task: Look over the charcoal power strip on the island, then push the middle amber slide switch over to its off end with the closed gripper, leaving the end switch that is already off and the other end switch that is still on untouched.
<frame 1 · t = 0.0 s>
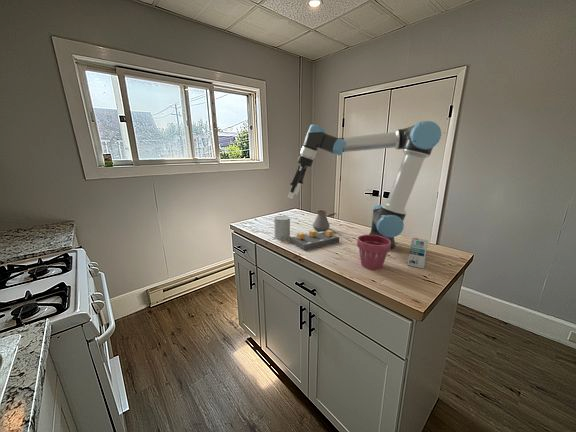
hand: (292, 196, 125), 28 cm above the table, tool tilted 20°, fingers open, 13 cm apart
switch b: (312, 233, 138), point 5 cm above the table, slide at 0.0 cm
switch a: (329, 233, 138), point 5 cm above the table, slide at 4.5 cm
grey cylinder: (282, 237, 145), on the table
light bulb box: (416, 263, 112), on the table
switch c: (300, 235, 133), point 5 cm above the table, slide at 0.0 cm
coffee pot: (325, 232, 156), on the table
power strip: (314, 242, 137), on the table
plant pot: (371, 265, 109), on the table
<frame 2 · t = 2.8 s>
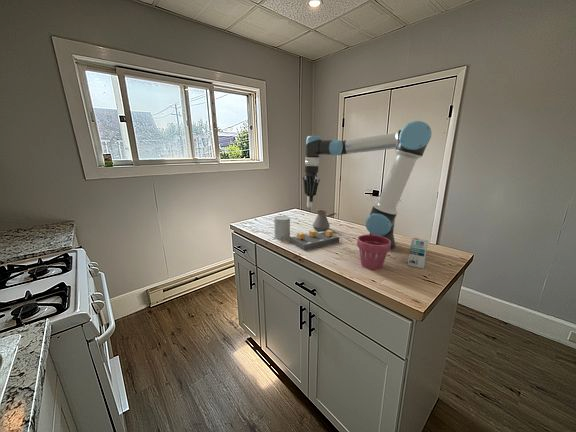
hand: (309, 206, 137), 20 cm above the table, tool pointing down, fingers closed
nothing on the table moved.
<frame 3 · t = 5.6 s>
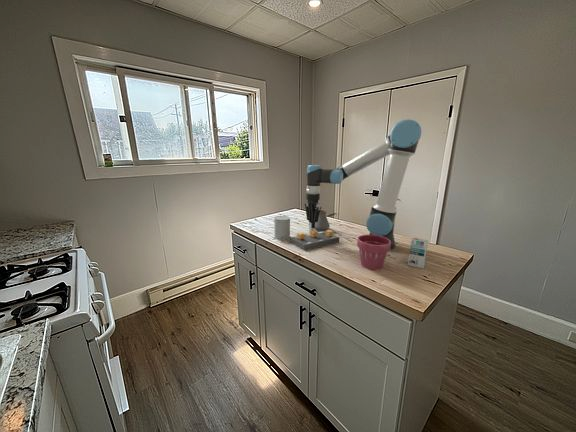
hand: (311, 232, 139), 5 cm above the table, tool pointing down, fingers closed
switch b: (313, 233, 137), point 5 cm above the table, slide at 0.9 cm, touching gripper
everything else where it was.
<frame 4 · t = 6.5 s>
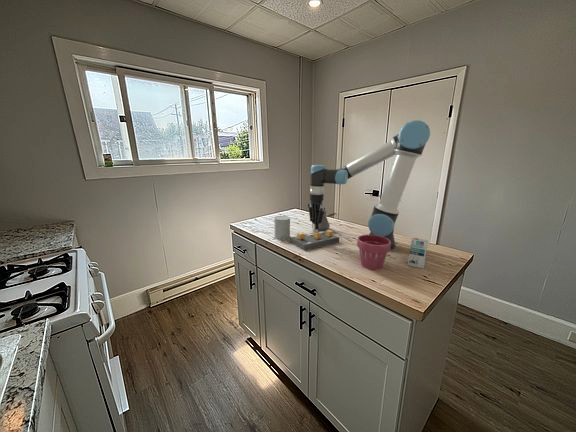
hand: (315, 234, 136), 5 cm above the table, tool pointing down, fingers closed
switch b: (317, 235, 134), point 5 cm above the table, slide at 4.2 cm, touching gripper
everything else where it was.
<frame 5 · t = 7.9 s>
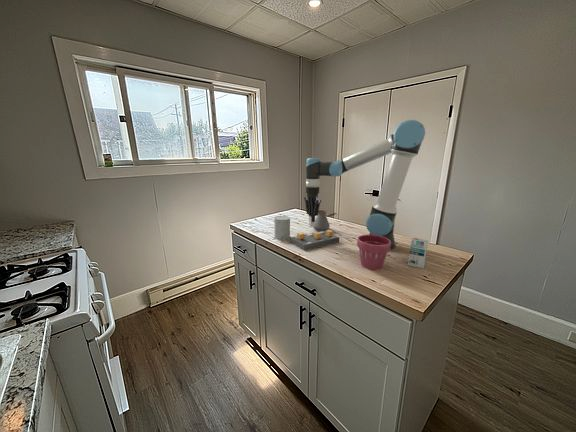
hand: (311, 226, 138), 8 cm above the table, tool pointing down, fingers closed
switch b: (317, 235, 134), point 5 cm above the table, slide at 4.2 cm
everything else where it was.
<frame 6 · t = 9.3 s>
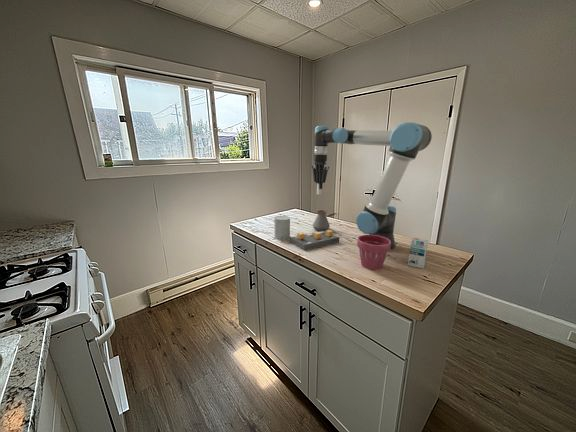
hand: (319, 194, 144), 26 cm above the table, tool pointing down, fingers closed
nothing on the table moved.
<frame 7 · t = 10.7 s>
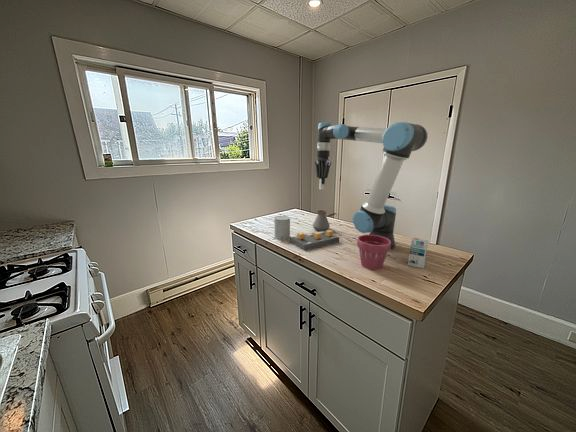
hand: (321, 189, 148), 28 cm above the table, tool pointing down, fingers closed
nothing on the table moved.
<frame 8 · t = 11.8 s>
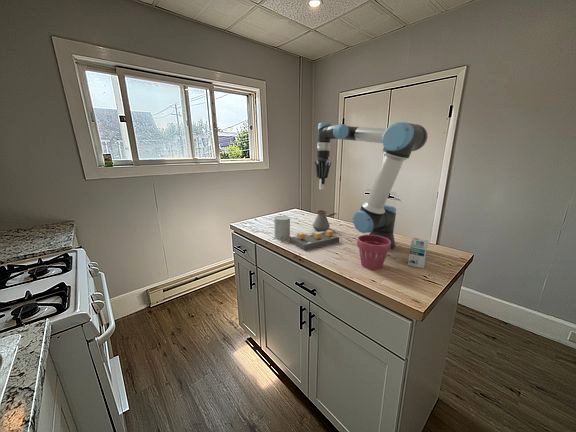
hand: (321, 189, 148), 28 cm above the table, tool pointing down, fingers closed
nothing on the table moved.
at the end: switch b slide at 4.2 cm; switch a slide at 4.5 cm; switch c slide at 0.0 cm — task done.
